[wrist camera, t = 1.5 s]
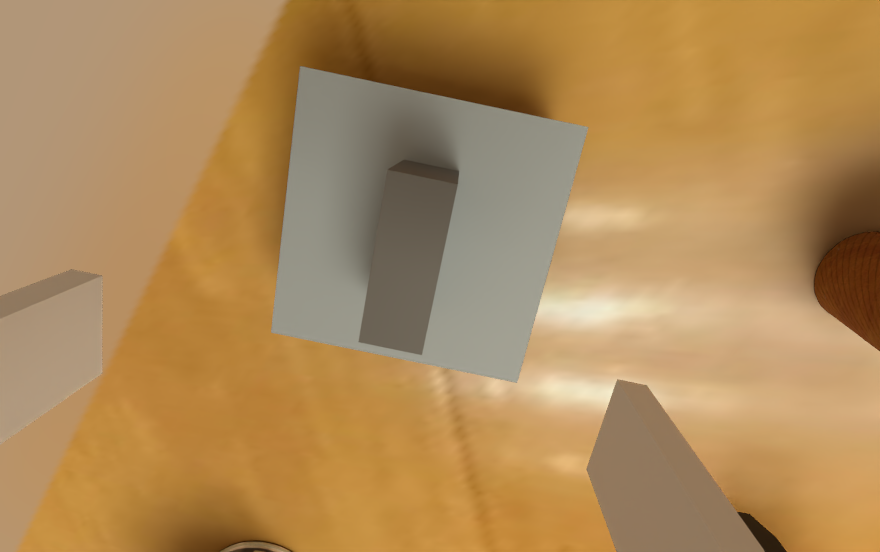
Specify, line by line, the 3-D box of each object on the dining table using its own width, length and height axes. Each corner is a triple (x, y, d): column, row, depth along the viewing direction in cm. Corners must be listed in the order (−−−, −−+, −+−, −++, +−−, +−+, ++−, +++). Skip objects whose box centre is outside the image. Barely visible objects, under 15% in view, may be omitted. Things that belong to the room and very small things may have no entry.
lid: (583, 126, 27) (624, 128, 20) (515, 374, 31) (529, 444, 24) (306, 68, 26) (252, 49, 20) (277, 325, 31) (225, 382, 24)
